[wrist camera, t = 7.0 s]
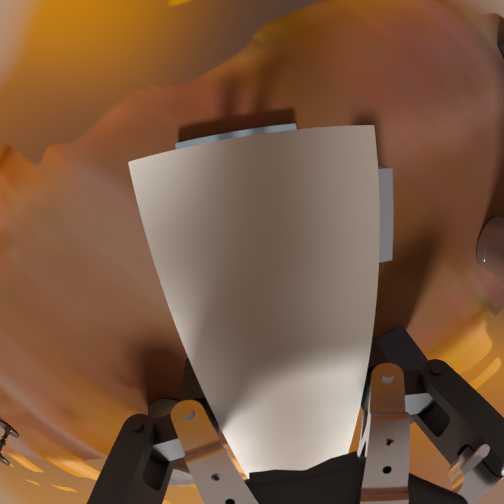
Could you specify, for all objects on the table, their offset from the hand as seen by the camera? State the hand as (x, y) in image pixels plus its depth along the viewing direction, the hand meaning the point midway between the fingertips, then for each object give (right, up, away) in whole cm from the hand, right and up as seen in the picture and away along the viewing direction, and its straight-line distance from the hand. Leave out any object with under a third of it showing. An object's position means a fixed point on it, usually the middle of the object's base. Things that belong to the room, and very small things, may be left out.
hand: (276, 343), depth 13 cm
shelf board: (0, 0, -1) cm, 1 cm away
